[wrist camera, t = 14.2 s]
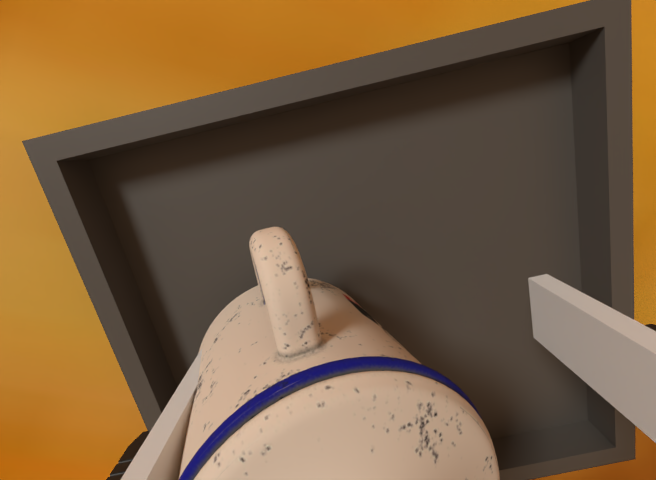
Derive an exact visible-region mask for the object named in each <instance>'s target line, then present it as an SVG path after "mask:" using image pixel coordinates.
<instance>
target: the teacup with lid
mask: <svg viewBox="0 0 656 480" xmlns="http://www.w3.org/2000/svg"><path fill="white" fill-rule="evenodd" d="M249 247H250V252H251V257H252V261H253V266H254V270H255V274H256V278H257V282H258V286H255V287H253V288H251V289H249V290H248V291H246V292H244V293H243V294H241V295H240V296H238V297H237V298H235V299H234V300H233V301H232V302H230V303H229V304H228V305H227V306H226V307H225V308H224V309H223V310H222V311H221V312H220V313H219V314H218V316H217V317H216V318H215V319H214V321H213V322H212V324H211V325H210V327H209V329H208V330H207V332H206V334H205V336H204V339H203V341H202V343H201V346H200V349H199V352H200V351H201V349H202V355H201V362H200V370H199V377H198V385H197V389H196V392H195V396H194V400H193V404H192V409H191V413H190V418H189V422H188V427H187V431H186V437H185V443H184V448H183V454H182V460H181V466H180V472H179V479H178V480H500V475H499V467H498V461H497V457H496V453H495V449H494V446H493V442H492V440H491V437H490V434H489V432H488V430H487V428H486V426H485V424H484V422H483V421H482V418H481V416H480V414H479V413H478V411H477V409H476V407H475V406H474V404H473V403H472V402H471V400H470V399H469V397H468V396H467V395H466V394H465V393H464V392H463V391H462V390H461V389H460V388H459V387H458V386H457V385H456V384H455V383H453V382H452V381H451V380H450V379H448V378H447V377H445V376H444V375H442V374H441V373H439V372H437V371H436V370H433V369H431V368H429V367H427V366H425V365H422V364H421V363H420V362H419V361H418V360H417V359H416V358H415V357H414V356H413V355H411V354H410V353H409V352H408V351H407V350H406V349H405V348H404V347H403V346H402V345H401V344H400V343H399V342H398V341H397V340H396V339H395V338H393V337H392V336H391V335H390V334H389V333H388V332H387V331H386V330H385V329H384V328H383V327H382V326H381V325H380V324H379V323H378V322H377V321H375V320H374V319H373V318H372V317H371V316H370V315H369V314H368V313H367V312H366V311H365V310H364V309H363V308H362V307H361V306H360V305H359V304H358V303H356V302H355V301H354V300H353V299H352V298H351V297H350V296H349V295H348V294H346V293H345V292H344V291H342V290H340V289H339V288H337V287H335V286H333V285H331V284H329V283H326V282H324V281H320V280H316V279H311V278H307V275H306V271H305V268H304V265H303V262H302V260H301V257H300V254H299V251H298V249H297V247H296V244H295V242H294V241H293V239H292V237H291V236H290V235H289V233H288V232H287V231H286V230H284V229H283V228H281V227H270V228H266V229H262V230H258V231H256V232H255V233H253V234H252V236H251V238H250V241H249ZM199 352H198V354H199Z"/></svg>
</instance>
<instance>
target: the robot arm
mask: <svg viewBox="0 0 656 480" xmlns="http://www.w3.org/2000/svg"><path fill="white" fill-rule="evenodd" d="M528 283H529V294H530V305H531V316H532V327H533V338H535V339H536V340H537V341H538V342H539V343H540V344H542V345H543V346H544V347H545V348H546V349H547V350H549V351H550V352H551V353H552V354H553V355H554V356H555V357H557V358H558V359H559V360H560V361H561V362H562V363H564V364H565V365H566V366H567V367H568V368H569V369H571V370H572V371H573V372H574V373H575V374H576V375H578V376H579V377H580V378H581V379H582V380H583V381H584V382H586V383H587V384H588V385H589V386H590V387H591V388H593V389H594V390H595V391H596V392H597V393H598V394H600V395H601V396H602V397H603V398H604V399H605V400H606V401H608V402H609V403H610V404H611V405H612V406H613V407H615V408H616V409H617V410H618V411H619V412H620V413H622V414H623V415H624V416H625V417H626V418H627V419H629V420H630V421H631V422H632V423H633V424H634V425H635V426H637V427H638V428H639V429H640V430H641V431H642V432H644V433H645V434H646V435H647V436H648V437H649V438H651V439H652V440H653V441H654V442H655V443H656V325H654V324H648V325H643V324H641V323H639V322H637V321H635V320H633V319H631V318H630V317H628V316H626V315H624V314H622V313H620V312H618V311H616V310H614V309H612V308H611V307H609V306H607V305H605V304H603V303H601V302H599V301H597V300H595V299H594V298H592V297H590V296H588V295H586V294H584V293H582V292H580V291H578V290H577V289H575V288H573V287H571V286H569V285H567V284H565V283H563V282H561V281H560V280H558V279H556V278H554V277H552V276H550V275H548V274H544V275H539V276H535V277H530V278H528ZM201 355H202V349H201V351H200V352H199V354H198V355H197V357H196V359H195V360H194V362H193V363H192V365H191V367H190V368H189V370H188V371H187V373H186V375H185V376H184V378H183V380H182V381H181V383H180V384H179V386H178V388H177V389H176V391H175V392H174V394H173V396H172V397H171V399H170V401H169V402H168V404H167V405H166V407H165V409H164V410H163V412H162V413H161V415H160V417H159V418H158V420H157V422H156V423H155V425H154V426H153V428H152V430H151V431H146V432H143V433H142V434H141V435H140V436H139V437H138V438H136V439H135V440H134V441H133V442H132V443H131V444H130V445H129V446H128V448H127V449H126V451H125V452H124V454H123V455H122V457H121V458H120V460H119V461H118V462H119V463H118V464H117V465H116V466H115V467H114V469H113V470H112V472H111V473H110V477H108V478H107V479H106V480H178V479H179V472H180V466H181V460H182V454H183V448H184V443H185V437H186V431H187V427H188V422H189V418H190V413H191V409H192V404H193V400H194V396H195V392H196V389H197V385H198V377H199V370H200V362H201Z"/></svg>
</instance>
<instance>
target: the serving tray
mask: <svg viewBox="0 0 656 480" xmlns="http://www.w3.org/2000/svg"><path fill="white" fill-rule="evenodd" d="M22 142H23V144H24V147H25V149H26V151H27V154H28V156H29V158H30V161H31V163H32V165H33V167H34V170H35V172H36V174H37V177H38V179H39V181H40V184H41V186H42V188H43V190H44V193H45V195H46V197H47V200H48V202H49V204H50V207H51V209H52V211H53V213H54V216H55V218H56V220H57V223H58V225H59V227H60V230H61V232H62V234H63V236H64V239H65V241H66V243H67V246H68V248H69V250H70V252H71V255H72V257H73V259H74V262H75V264H76V266H77V269H78V271H79V273H80V275H81V278H82V280H83V282H84V285H85V287H86V289H87V292H88V294H89V296H90V298H91V301H92V303H93V305H94V308H95V310H96V312H97V315H98V317H99V319H100V321H101V324H102V326H103V328H104V331H105V333H106V335H107V338H108V340H109V342H110V344H111V347H112V349H113V351H114V354H115V356H116V358H117V361H118V363H119V365H120V367H121V370H122V372H123V374H124V377H125V379H126V381H127V384H128V386H129V388H130V390H131V393H132V395H133V397H134V400H135V402H136V404H137V407H138V409H139V411H140V413H141V416H142V418H143V420H144V423H145V425H146V427H147V430H148V431H151V430H152V428H153V426H154V425H155V423H156V422H157V420H158V418H159V417H160V415H161V413H162V412H163V410H164V409H165V407H166V405H167V404H168V402H169V401H170V399H171V397H172V396H173V394H174V392H175V391H176V389H177V388H178V386H179V384H180V383H181V381H182V380H183V378H184V376H185V375H186V373H187V371H188V370H189V368H190V367H191V365H192V363H193V362H194V360H195V359H196V357H197V355H198V352H199V349H200V346H201V343H202V341H203V339H204V336H205V334H206V332H207V330H208V329H209V327H210V325H211V324H212V322H213V321H214V319H215V318H216V317H217V316H218V314H219V313H220V312H221V311H222V310H223V309H224V308H225V307H226V306H227V305H228V304H229V303H230V302H232V301H233V300H234V299H235V298H237V297H238V296H240V295H241V294H243V293H244V292H246V291H248V290H249V289H251V288H253V287H255V286H258V282H257V278H256V274H255V270H254V266H253V261H252V257H251V252H250V247H249V241H250V238H251V236H252V234H253V233H255V232H256V231H258V230H262V229H266V228H270V227H281V228H283V229H284V230H286V231H287V232H288V233H289V235H290V236H291V237H292V239H293V241H294V242H295V244H296V247H297V249H298V251H299V254H300V257H301V260H302V262H303V265H304V268H305V271H306V275H307V278H311V279H316V280H320V281H324V282H326V283H329V284H331V285H333V286H335V287H337V288H339V289H340V290H342V291H344V292H345V293H346V294H348V295H349V296H350V297H351V298H352V299H353V300H354V301H355V302H356V303H358V304H359V305H360V306H361V307H362V308H363V309H364V310H365V311H366V312H367V313H368V314H369V315H370V316H371V317H372V318H373V319H374V320H375V321H377V322H378V323H379V324H380V325H381V326H382V327H383V328H384V329H385V330H386V331H387V332H388V333H389V334H390V335H391V336H392V337H393V338H395V339H396V340H397V341H398V342H399V343H400V344H401V345H402V346H403V347H404V348H405V349H406V350H407V351H408V352H409V353H410V354H411V355H413V356H414V357H415V358H416V359H417V360H418V361H419V362H420V363H421V364H422V365H425V366H427V367H429V368H431V369H433V370H436V371H437V372H439V373H441V374H442V375H444V376H445V377H447V378H448V379H450V380H451V381H452V382H453V383H455V384H456V385H457V386H458V387H459V388H460V389H461V390H462V391H463V392H464V393H465V394H466V395H467V396H468V397H469V399H470V400H471V402H472V403H473V404H474V406H475V407H476V409H477V411H478V413H479V414H480V416H481V418H482V421H483V422H484V424H485V426H486V428H487V430H488V432H489V434H490V437H491V440H492V442H493V446H494V449H495V453H496V457H497V461H498V467H499V475H500V480H530V479H536V478H541V477H546V476H551V475H556V474H561V473H566V472H571V471H576V470H581V469H587V468H592V467H597V466H602V465H607V464H612V463H617V462H622V461H627V460H633V459H635V425H634V424H633V423H632V422H631V421H630V420H629V419H627V418H626V417H625V416H624V415H623V414H622V413H620V412H619V411H618V410H617V409H616V408H615V407H613V406H612V405H611V404H610V403H609V402H608V401H606V400H605V399H604V398H603V397H602V396H601V395H600V394H598V393H597V392H596V391H595V390H594V389H593V388H591V387H590V386H589V385H588V384H587V383H586V382H584V381H583V380H582V379H581V378H580V377H579V376H578V375H576V374H575V373H574V372H573V371H572V370H571V369H569V368H568V367H567V366H566V365H565V364H564V363H562V362H561V361H560V360H559V359H558V358H557V357H555V356H554V355H553V354H552V353H551V352H550V351H549V350H547V349H546V348H545V347H544V346H543V345H542V344H540V343H539V342H538V341H537V340H536V339H535V338H533V327H532V316H531V305H530V294H529V283H528V278H530V277H535V276H539V275H544V274H548V275H550V276H552V277H554V278H556V279H558V280H560V281H561V282H563V283H565V284H567V285H569V286H571V287H573V288H575V289H577V290H578V291H580V292H582V293H584V294H586V295H588V296H590V297H592V298H594V299H595V300H597V301H599V302H601V303H603V304H605V305H607V306H609V307H611V308H612V309H614V310H616V311H618V312H620V313H622V314H624V315H626V316H628V317H630V318H631V319H633V320H634V258H633V150H632V42H631V0H590V1H586V2H582V3H578V4H574V5H570V6H565V7H561V8H557V9H553V10H549V11H545V12H541V13H537V14H533V15H529V16H525V17H521V18H517V19H513V20H509V21H505V22H501V23H497V24H493V25H489V26H485V27H481V28H477V29H473V30H469V31H465V32H461V33H457V34H453V35H449V36H445V37H441V38H437V39H433V40H428V41H424V42H420V43H416V44H412V45H408V46H404V47H400V48H396V49H392V50H388V51H384V52H380V53H376V54H372V55H368V56H364V57H360V58H356V59H352V60H348V61H344V62H340V63H336V64H332V65H328V66H324V67H320V68H316V69H312V70H308V71H304V72H300V73H295V74H291V75H287V76H283V77H279V78H275V79H271V80H267V81H263V82H259V83H255V84H251V85H247V86H243V87H239V88H235V89H231V90H227V91H223V92H219V93H215V94H211V95H207V96H203V97H199V98H195V99H191V100H187V101H183V102H179V103H175V104H171V105H167V106H162V107H158V108H154V109H150V110H146V111H142V112H138V113H134V114H130V115H126V116H122V117H118V118H114V119H110V120H106V121H102V122H98V123H94V124H90V125H86V126H82V127H78V128H74V129H70V130H66V131H62V132H58V133H54V134H50V135H46V136H42V137H38V138H34V139H29V140H25V141H22Z"/></svg>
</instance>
